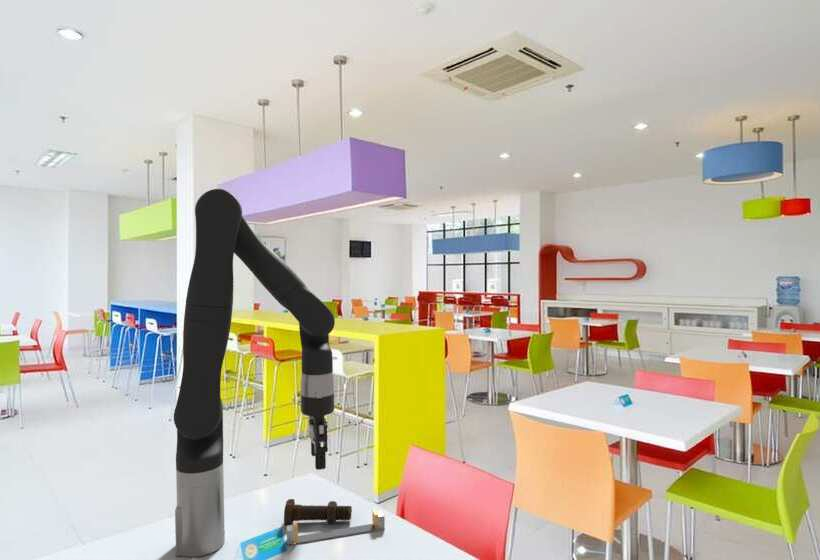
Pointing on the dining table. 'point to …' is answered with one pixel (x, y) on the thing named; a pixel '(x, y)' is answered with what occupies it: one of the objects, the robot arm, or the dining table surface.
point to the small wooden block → (378, 520)
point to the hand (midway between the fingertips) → (318, 461)
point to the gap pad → (336, 533)
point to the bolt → (316, 512)
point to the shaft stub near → (292, 533)
